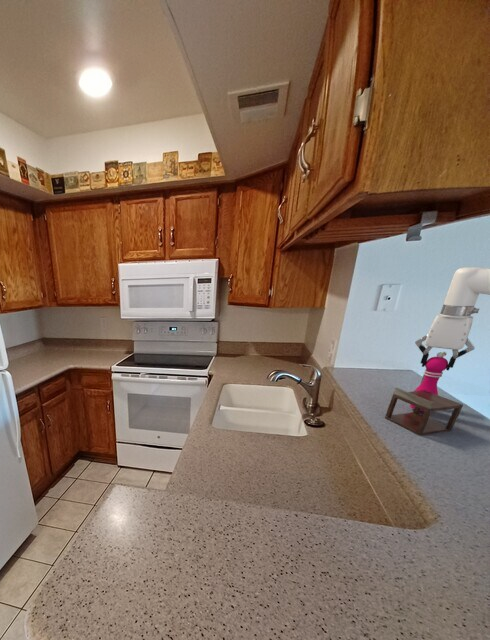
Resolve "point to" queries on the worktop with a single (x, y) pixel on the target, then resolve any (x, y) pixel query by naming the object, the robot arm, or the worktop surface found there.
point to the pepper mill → (432, 374)
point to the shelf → (429, 404)
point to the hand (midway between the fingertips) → (435, 367)
